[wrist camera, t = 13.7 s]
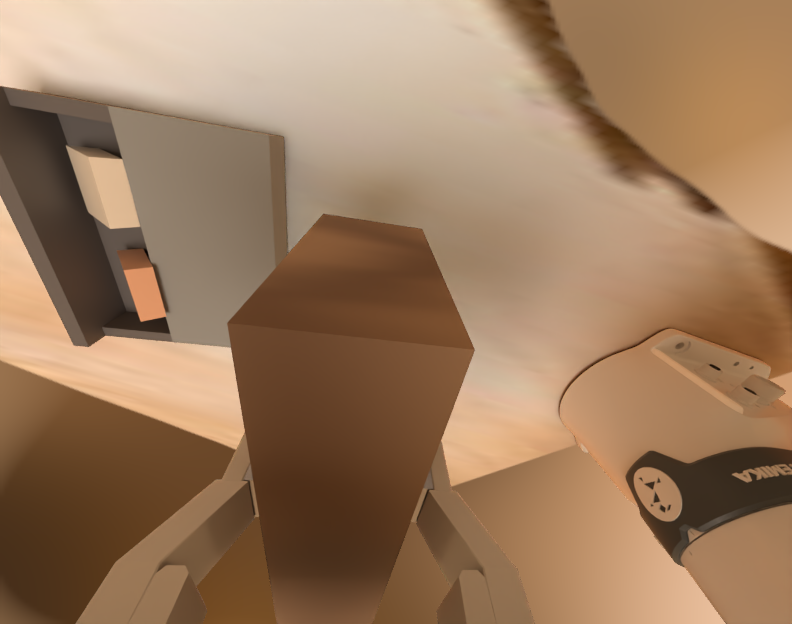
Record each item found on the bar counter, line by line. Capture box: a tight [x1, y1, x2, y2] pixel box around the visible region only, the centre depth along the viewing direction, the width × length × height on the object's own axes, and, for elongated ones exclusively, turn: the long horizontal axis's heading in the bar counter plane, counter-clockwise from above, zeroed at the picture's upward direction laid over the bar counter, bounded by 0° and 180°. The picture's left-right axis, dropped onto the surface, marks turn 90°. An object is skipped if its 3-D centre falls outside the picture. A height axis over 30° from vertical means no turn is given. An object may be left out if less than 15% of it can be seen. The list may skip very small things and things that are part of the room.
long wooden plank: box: [227, 214, 475, 624], centre depth 9 cm, size 3×13×6 cm, turn 171°
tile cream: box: [66, 145, 140, 229], centre depth 18 cm, size 4×4×2 cm
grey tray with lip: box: [0, 86, 287, 347], centre depth 20 cm, size 14×16×4 cm
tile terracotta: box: [117, 249, 166, 322], centre depth 21 cm, size 4×4×2 cm
